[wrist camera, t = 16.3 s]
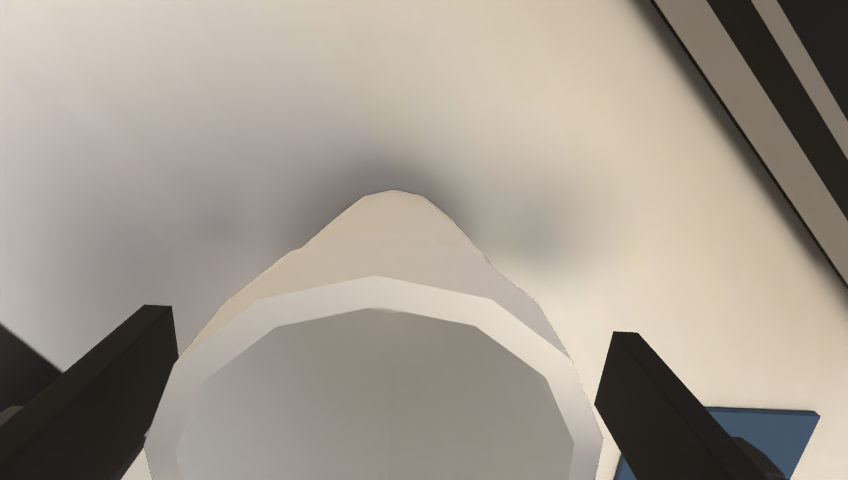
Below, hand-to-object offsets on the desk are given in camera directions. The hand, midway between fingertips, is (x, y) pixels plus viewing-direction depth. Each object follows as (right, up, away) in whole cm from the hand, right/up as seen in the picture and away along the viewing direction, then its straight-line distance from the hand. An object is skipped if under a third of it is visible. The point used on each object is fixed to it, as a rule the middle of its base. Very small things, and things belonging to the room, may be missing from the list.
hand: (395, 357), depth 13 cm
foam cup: (-1, +3, +8) cm, 9 cm away
